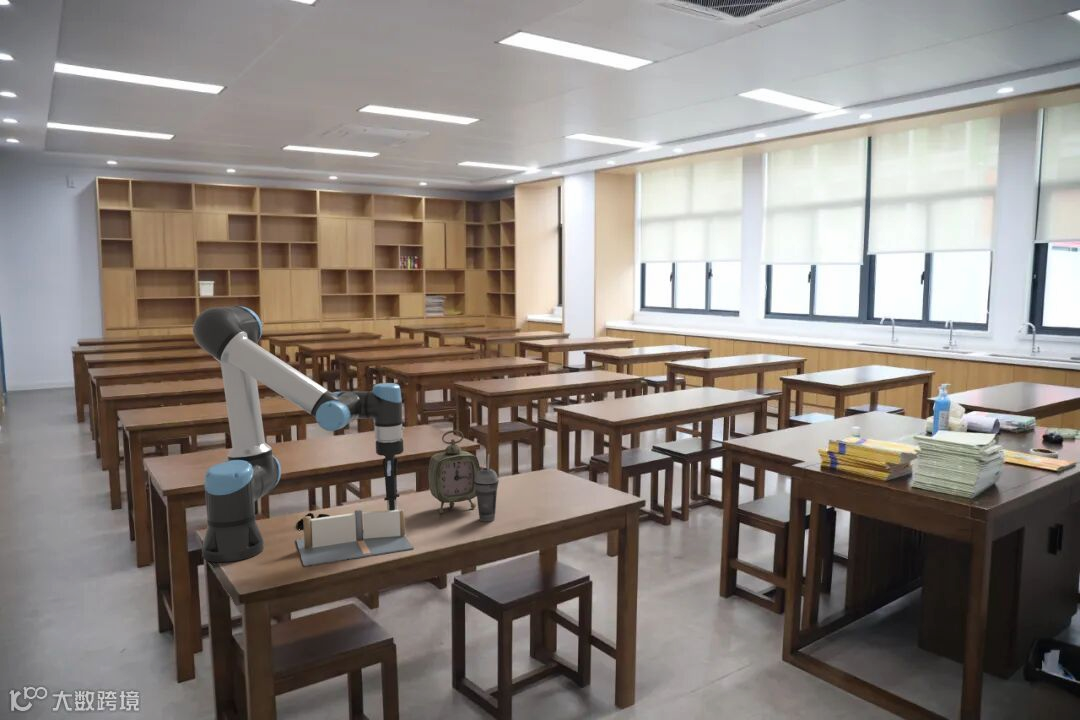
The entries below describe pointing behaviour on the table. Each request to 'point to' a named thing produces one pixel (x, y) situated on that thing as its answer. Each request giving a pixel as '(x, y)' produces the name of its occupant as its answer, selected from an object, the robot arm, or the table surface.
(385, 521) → the cream upright panel
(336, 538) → the fixed fence section
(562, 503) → the table surface
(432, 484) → the tabletop clock
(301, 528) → the black jagged rounded shell
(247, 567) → the table surface
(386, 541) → the card
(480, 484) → the beverage cup
